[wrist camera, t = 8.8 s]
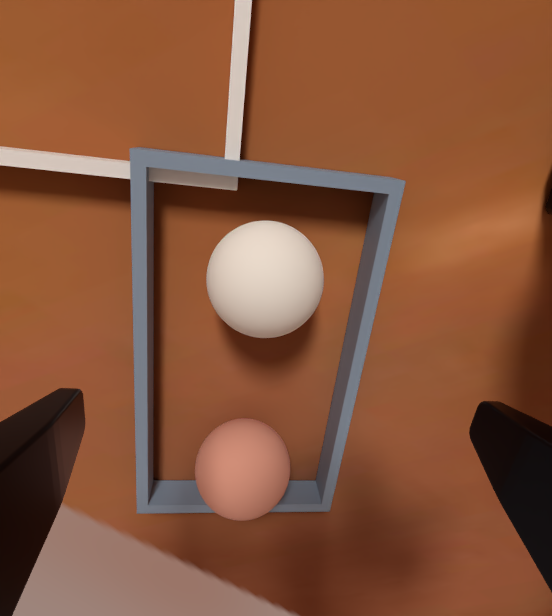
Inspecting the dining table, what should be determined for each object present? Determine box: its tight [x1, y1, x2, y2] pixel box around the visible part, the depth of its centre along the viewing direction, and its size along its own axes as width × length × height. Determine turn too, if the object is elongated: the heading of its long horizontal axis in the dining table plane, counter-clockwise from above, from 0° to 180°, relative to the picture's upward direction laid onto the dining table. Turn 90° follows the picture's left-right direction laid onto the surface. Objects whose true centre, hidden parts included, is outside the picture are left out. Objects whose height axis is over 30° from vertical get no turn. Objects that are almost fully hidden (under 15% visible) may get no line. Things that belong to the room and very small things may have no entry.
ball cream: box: [206, 221, 324, 338], centre depth 17 cm, size 5×5×5 cm
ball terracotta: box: [195, 418, 291, 521], centre depth 21 cm, size 5×5×5 cm
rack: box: [130, 147, 406, 513], centre depth 21 cm, size 11×19×2 cm, turn 174°
